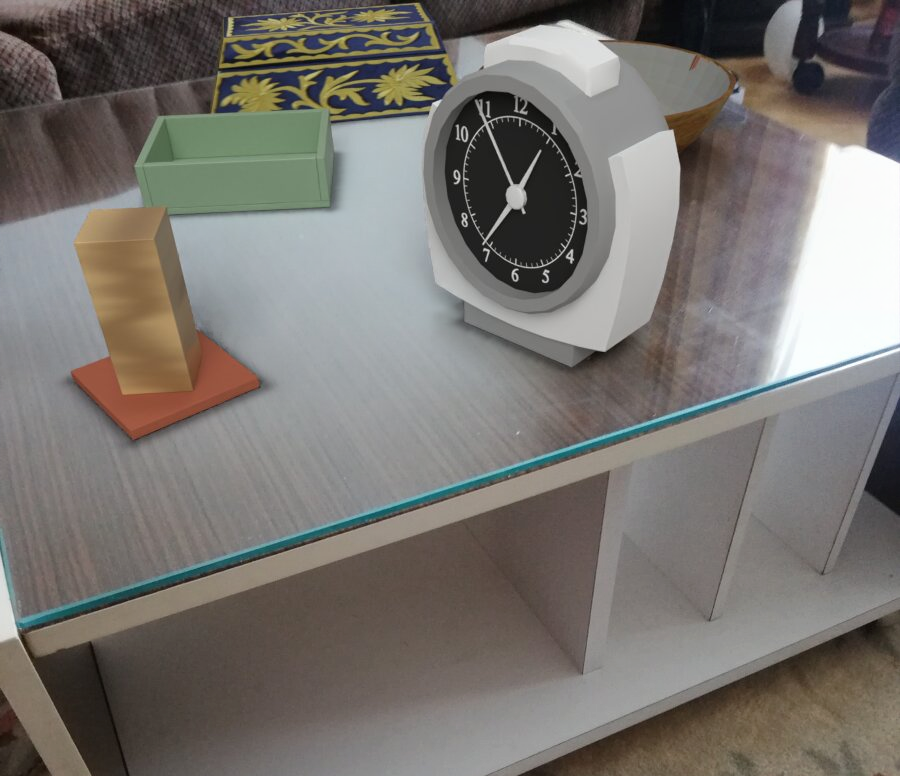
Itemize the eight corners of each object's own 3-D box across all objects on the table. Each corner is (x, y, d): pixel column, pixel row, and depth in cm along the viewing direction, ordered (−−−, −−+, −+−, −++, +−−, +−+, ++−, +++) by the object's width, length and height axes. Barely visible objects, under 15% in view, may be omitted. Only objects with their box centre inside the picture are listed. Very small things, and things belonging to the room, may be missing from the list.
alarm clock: (416, 314, 73) (400, 24, 59) (485, 275, 78) (486, -4, 63) (601, 394, 65) (636, 78, 50) (667, 346, 69) (716, 42, 55)
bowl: (429, 152, 98) (425, 68, 92) (612, 104, 107) (619, 25, 101) (574, 235, 83) (581, 141, 77) (773, 171, 92) (793, 83, 86)
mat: (73, 380, 68) (69, 370, 67) (194, 334, 72) (191, 324, 71) (133, 440, 62) (130, 430, 62) (260, 386, 66) (258, 377, 66)
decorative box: (468, 110, 107) (468, 21, 100) (208, 133, 103) (190, 43, 97) (451, 81, 114) (449, -3, 108) (207, 102, 111) (190, 16, 104)
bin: (146, 216, 88) (133, 166, 85) (168, 162, 97) (157, 115, 94) (330, 207, 88) (324, 157, 85) (334, 154, 98) (329, 108, 95)
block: (122, 395, 65) (73, 242, 57) (135, 357, 68) (90, 209, 60) (193, 391, 65) (154, 238, 57) (202, 354, 68) (166, 205, 60)
